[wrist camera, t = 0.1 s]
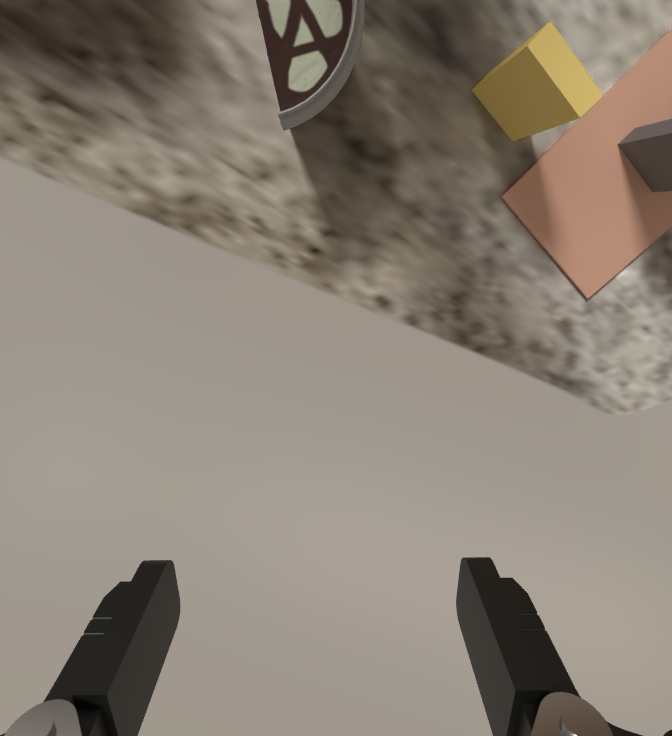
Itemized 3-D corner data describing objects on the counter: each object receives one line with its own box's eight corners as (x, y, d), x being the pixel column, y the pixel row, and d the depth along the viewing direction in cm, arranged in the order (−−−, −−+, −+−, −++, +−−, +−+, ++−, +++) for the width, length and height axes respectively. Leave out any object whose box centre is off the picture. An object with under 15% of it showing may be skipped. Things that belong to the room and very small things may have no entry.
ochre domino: (512, 141, 35) (580, 117, 26) (471, 90, 34) (526, 45, 24) (528, 125, 35) (603, 95, 25) (487, 73, 33) (550, 20, 24)
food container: (370, 128, 34) (385, 100, 25) (293, 146, 35) (279, 125, 25) (338, -70, 30) (342, -194, 21) (250, -48, 31) (216, -160, 21)
